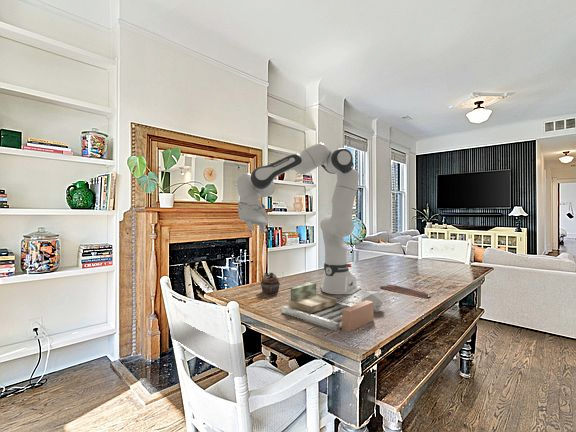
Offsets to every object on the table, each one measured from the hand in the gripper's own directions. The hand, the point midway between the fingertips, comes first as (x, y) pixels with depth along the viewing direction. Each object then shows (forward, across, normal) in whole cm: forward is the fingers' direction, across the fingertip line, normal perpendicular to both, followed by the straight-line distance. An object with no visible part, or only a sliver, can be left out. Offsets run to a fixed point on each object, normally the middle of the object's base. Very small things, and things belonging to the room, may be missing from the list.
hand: (257, 231), depth 147 cm
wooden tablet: (+44, +53, -45) cm, 82 cm away
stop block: (+50, -3, -33) cm, 60 cm away
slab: (+39, +2, -15) cm, 42 cm away
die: (+47, +15, -35) cm, 61 cm away
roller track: (+44, +1, -20) cm, 48 cm away
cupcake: (+26, +18, +12) cm, 34 cm away
